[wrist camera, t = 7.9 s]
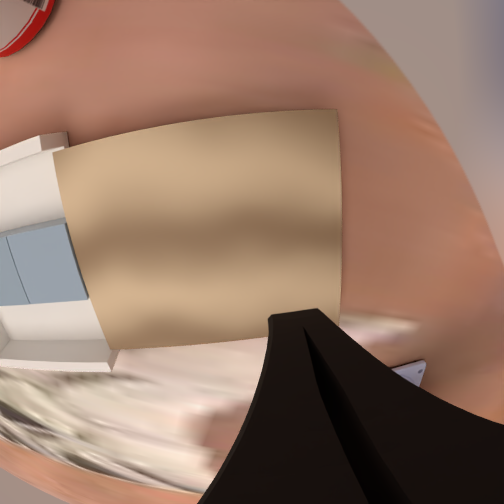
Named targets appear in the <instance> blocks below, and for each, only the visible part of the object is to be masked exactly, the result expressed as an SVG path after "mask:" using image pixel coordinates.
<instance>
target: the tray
mask: <svg viewBox="0 0 504 504" xmlns="http://www.w3.org/2000/svg"><path fill="white" fill-rule="evenodd" d="M66 148H69V143H68V136H67V131H66V132H58V133H51V134H44V135H38V136H36V137H33V138H30V139H27V140H25V141H22V142H20V143H17V144H15V145H12V146H10V147H7V148H5V149H2V150H0V232H3V231H7V230H11V229H15V228H20V227H23V226H27V225H32V224H36V223H41V222H45V221H50V220H54V219H59V218H64V217H65V213H64V209H63V205H62V201H61V196H60V192H59V187H58V182H57V177H56V172H55V166H54V160H53V155H52V152H56V151H59V150H62V149H66ZM119 351H120V349H113V350H110V348H109V346H108V343H107V341H106V339H105V336H104V334H103V331H102V329H101V326H100V324H99V321H98V319H97V316H96V313H95V311H94V308H93V305H92V303H91V300H90V297H89V299H88V300H80V301H68V302H55V303H41V304H29V305H13V306H0V366H2V367H12V368H23V369H36V370H52V371H78V372H112V369H113V367H114V364H115V361H116V359H117V356H118V353H119Z"/></svg>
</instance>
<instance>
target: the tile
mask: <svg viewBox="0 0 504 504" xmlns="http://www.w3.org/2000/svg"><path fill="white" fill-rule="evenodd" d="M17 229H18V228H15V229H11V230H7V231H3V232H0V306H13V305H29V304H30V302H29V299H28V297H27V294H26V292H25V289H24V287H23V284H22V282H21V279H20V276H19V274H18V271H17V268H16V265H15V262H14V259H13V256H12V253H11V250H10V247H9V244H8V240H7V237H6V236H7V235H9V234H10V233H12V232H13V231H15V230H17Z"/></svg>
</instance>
